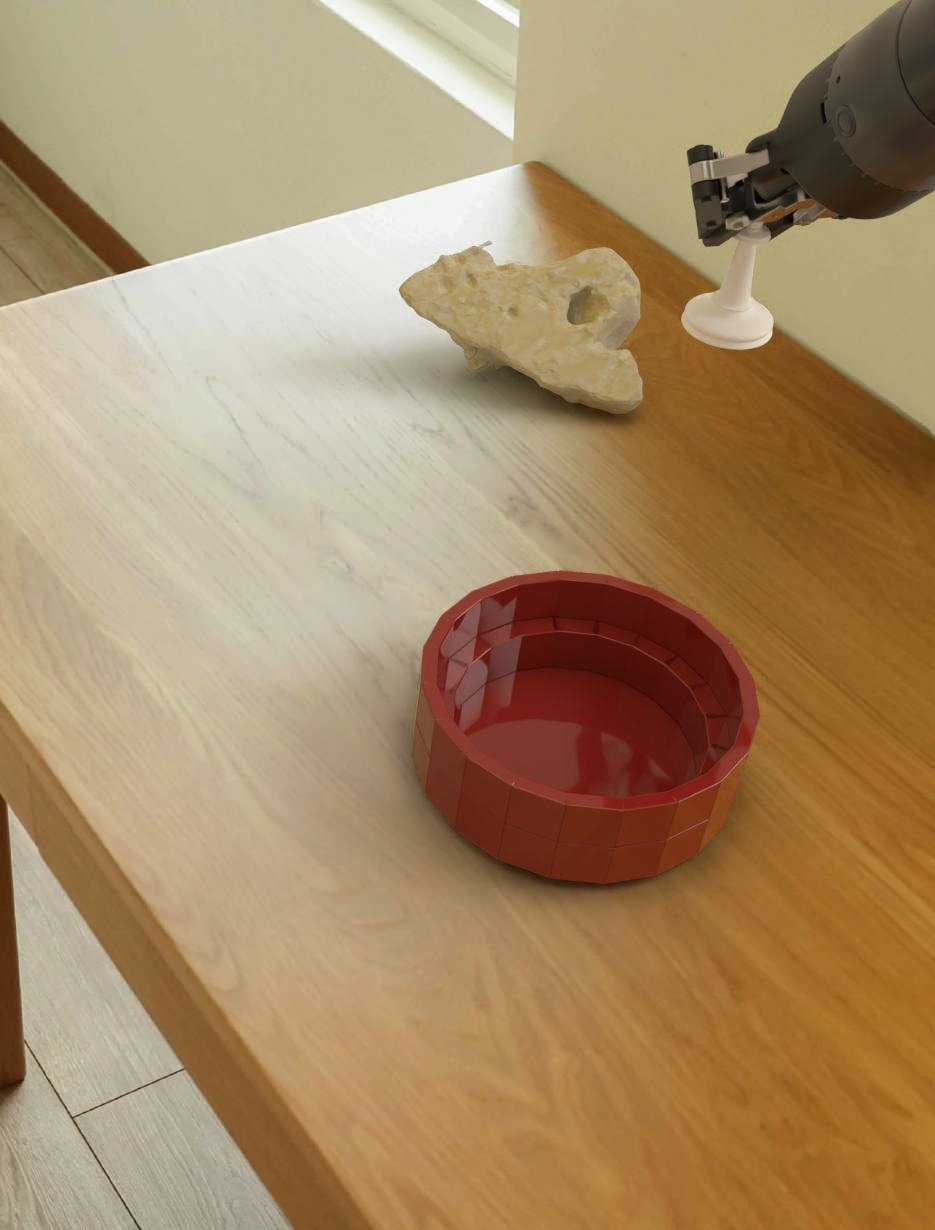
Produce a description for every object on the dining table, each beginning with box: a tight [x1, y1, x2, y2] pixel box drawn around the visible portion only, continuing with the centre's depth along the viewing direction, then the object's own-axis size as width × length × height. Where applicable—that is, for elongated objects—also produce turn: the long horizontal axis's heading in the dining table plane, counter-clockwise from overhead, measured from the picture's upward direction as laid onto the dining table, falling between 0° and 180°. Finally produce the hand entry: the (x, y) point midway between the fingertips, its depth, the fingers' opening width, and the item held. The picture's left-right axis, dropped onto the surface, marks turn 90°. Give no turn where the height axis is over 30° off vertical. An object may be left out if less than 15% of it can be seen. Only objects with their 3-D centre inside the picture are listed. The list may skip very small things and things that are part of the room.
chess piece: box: [680, 222, 774, 351], centre depth 81 cm, size 5×5×10 cm
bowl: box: [411, 569, 761, 884], centre depth 78 cm, size 17×17×6 cm
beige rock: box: [398, 240, 644, 415], centre depth 105 cm, size 15×7×15 cm
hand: (730, 226), depth 82 cm, fingers closed on chess piece
